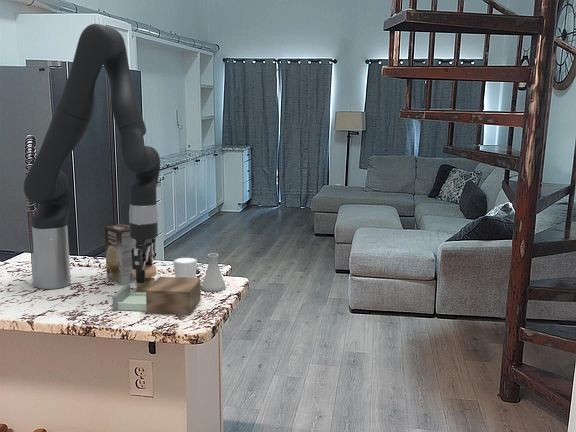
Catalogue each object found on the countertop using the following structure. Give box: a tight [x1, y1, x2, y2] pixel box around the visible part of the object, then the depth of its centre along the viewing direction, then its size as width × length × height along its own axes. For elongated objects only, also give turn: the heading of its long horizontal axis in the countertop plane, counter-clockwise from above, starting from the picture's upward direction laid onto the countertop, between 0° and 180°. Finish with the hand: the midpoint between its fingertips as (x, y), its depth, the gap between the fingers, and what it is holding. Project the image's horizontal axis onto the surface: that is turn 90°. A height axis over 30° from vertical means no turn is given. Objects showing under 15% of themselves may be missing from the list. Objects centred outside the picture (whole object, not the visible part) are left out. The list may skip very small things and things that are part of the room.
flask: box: [200, 252, 226, 293], centre depth 163 cm, size 7×7×10 cm
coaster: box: [132, 264, 157, 278], centre depth 159 cm, size 6×6×2 cm
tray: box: [112, 283, 147, 312], centre depth 149 cm, size 11×10×4 cm
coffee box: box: [104, 223, 139, 286], centre depth 169 cm, size 9×6×16 cm
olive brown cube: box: [135, 277, 156, 293], centre depth 160 cm, size 4×4×4 cm
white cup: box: [172, 257, 198, 278], centre depth 168 cm, size 7×7×7 cm
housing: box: [146, 276, 202, 316], centre depth 148 cm, size 11×12×6 cm
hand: (144, 279), depth 160 cm, fingers closed on coaster, 6 cm apart
